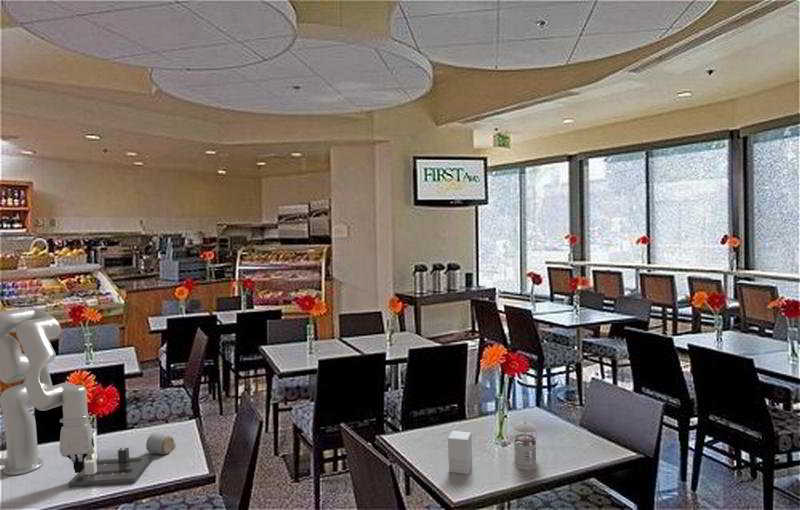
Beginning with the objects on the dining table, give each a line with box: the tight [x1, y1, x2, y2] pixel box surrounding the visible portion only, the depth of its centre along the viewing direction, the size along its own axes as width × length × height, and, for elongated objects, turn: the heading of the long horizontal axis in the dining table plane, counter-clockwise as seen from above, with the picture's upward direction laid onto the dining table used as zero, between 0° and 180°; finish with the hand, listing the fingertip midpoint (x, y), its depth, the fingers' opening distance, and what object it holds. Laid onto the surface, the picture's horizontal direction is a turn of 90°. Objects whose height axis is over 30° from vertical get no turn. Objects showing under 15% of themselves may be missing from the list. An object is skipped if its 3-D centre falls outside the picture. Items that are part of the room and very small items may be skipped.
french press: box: [511, 396, 540, 471], centre depth 206 cm, size 10×12×25 cm
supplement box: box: [447, 430, 473, 475], centre depth 202 cm, size 7×7×13 cm
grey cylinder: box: [145, 432, 177, 455], centre depth 224 cm, size 11×8×8 cm
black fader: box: [117, 447, 130, 462], centre depth 211 cm, size 3×2×5 cm
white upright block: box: [84, 459, 97, 475], centre depth 201 cm, size 3×2×5 cm
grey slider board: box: [68, 455, 153, 489], centre depth 205 cm, size 22×18×2 cm
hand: (79, 471), depth 201 cm, fingers closed
